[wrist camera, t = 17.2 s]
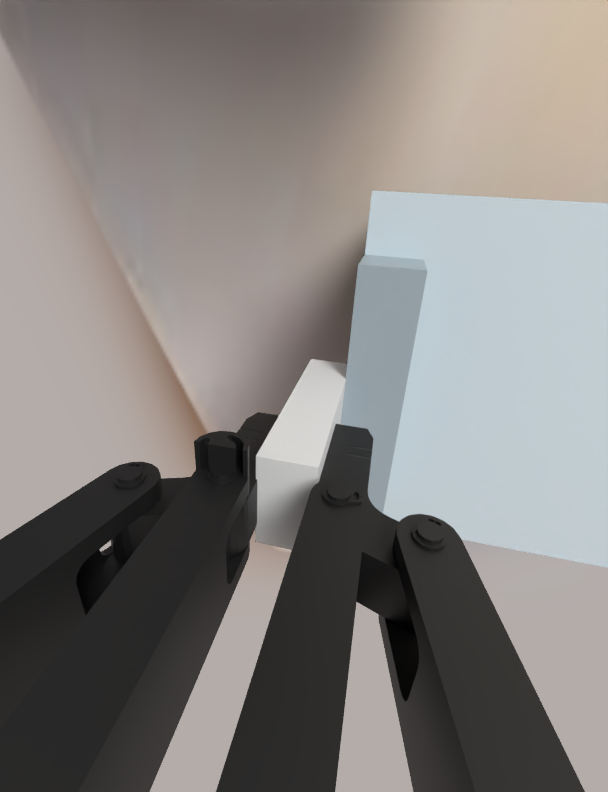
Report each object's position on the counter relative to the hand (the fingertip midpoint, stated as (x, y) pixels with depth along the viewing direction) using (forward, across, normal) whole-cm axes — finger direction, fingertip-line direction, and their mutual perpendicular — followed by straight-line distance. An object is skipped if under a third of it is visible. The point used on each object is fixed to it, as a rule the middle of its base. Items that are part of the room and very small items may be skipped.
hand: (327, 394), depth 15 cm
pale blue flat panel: (+2, +9, 0) cm, 9 cm away
